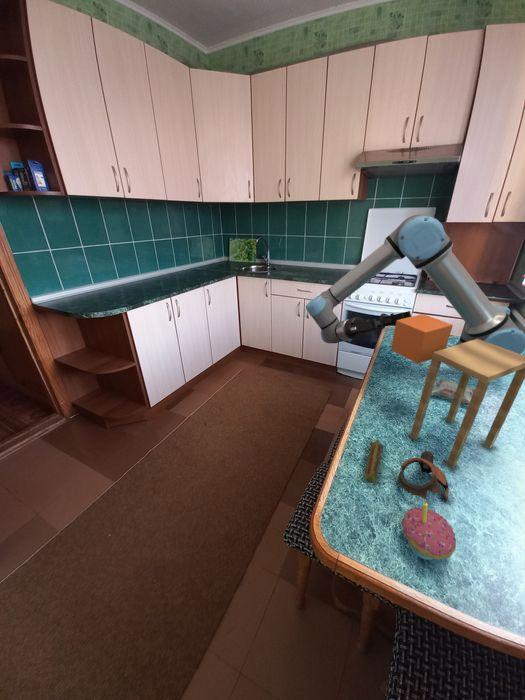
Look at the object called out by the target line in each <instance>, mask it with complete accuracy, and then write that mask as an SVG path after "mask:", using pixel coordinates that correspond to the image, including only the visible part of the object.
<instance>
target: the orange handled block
mask: <svg viewBox="0 0 525 700" xmlns="http://www.w3.org/2000/svg"><path fill="white" fill-rule="evenodd" d="M386 316H390V314H387V313H384V312H383V313H381V314H380V315H379V318H383V319H384V317H386ZM392 326H395V327H394V332H393V336H392V342H391V347H390V350H391V351H392V352H394V353H396V354H398V355H399V356H402V357H404V358H405V359H407V360H410V361H412V362H413V363H415V364H416V365H418V364H422V363H425V362H427V361H431V360H432V356H433V353H434V352H436V351H439V350H442V349H446V348H447V345H448V343H449V339H450V336H451V332H452V329H453V326H454V325H453V324H452V323H450V322H446V321H444V320H441V319H438V318H435V317H433V316H430V315H427V314H425V313H421V314H420V313H419V314H417V315H413V316H412V315H411V317H408V318H404V319H400V320H397V321H396V324H393V325H392Z"/></svg>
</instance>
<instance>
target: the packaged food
mask: <svg viewBox="0 0 525 700" xmlns="http://www.w3.org/2000/svg"><path fill="white" fill-rule="evenodd" d="M458 384H459V382H457V381H454V380H452V379H448V378H447V379H446V378H441V379H439V380H437V381H435V385H437V387H435V388H433V391H432V394H433V395H436V396H437V397H438V398H442V399H445V400H449V401H451V402H452V401H453V398H454V395H455V392H456V389H457V386H458ZM474 390H475V388H473V387H472V386H470V385H467V387H466V390H465V393H464V395H463V398H462V401H461V403H460V405H464V406H468V405H469V403H470V400H471V398H472V395H473V392H474Z"/></svg>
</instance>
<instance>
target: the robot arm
mask: <svg viewBox="0 0 525 700" xmlns="http://www.w3.org/2000/svg"><path fill="white" fill-rule="evenodd" d="M453 246H454V242H453V241H452V240H451V238H450V237H449V236H448V234H447V233H446V230H445V228H444V226H443V224H442V222H441V221H439V220H438V219H437V218H436V217H433V216H430V215H427V214H426V215H425V214H414V215H411V216H409V217H407V218H405V220H403V221H401V223H400V224H399V225H398V226H397V227H396V228H395V229H394V230H393V231H392V232H391V233H390V234H389V235H388V236H386V237H385V238H384V242H383V243H382V244H381V245H380V246H379V247H377V248H376V249H375V250H374V251H372V253H370V254H369V255H368V256H366V257H365V258H364V259H363V260H361V261H360V262H359V263H358V264H357V265H356V266H355V267H353V268H352V269H351V270H349V271H348V272H347V273H346V274H345V275H344V276H342V277H341V278H339V279H338V280H337V281H336V282H335V283H333V285H331V286H330V287H329V288H327V289H326V290H325V291H323V292H321V293H320V294H319V295H318V296H315V297H314V298H312V299H311V300H310V301H309V302H308V303H306V305H305V309H306V311H307V312H308V315H309V316H310V317H311V318H312V319H313V321H314V322H315V323H316V325H317V326H318V327H319V329H320V330H321V331H320V337H321V340H322V341H323V342H324V343H326V344H338V343H342V342H348V343H351V342H352V341H353V340H360V339H363V338H364V337H365V336H366V335H367V334H368V332H372V331H374V330H378V329H379V328H380V329H381V330H384V329H386V327H387V326H388V327H389V326H394V325H393V324H396V321H397V320H400V319H404V318H408V317H412V314H411V311H410V310H407V311H403V312H399V313H394V312H392V313H390V314H389V315H390V316H386V317H384V319H383V318H380V317H379V318H371V319H369V318H368V319H364V318H363V317H360V316H355V317H352V318H347V319H345V320H340V319H339V318H338V316H337V315H336V314H335V312H334V309H335V307H337V306H338V305H340V304H341V303H342V302H343V301H345V300H346V299H347V298H348V297H350V296H352V294H353V293H355V292H356V291H358V290H359V289H360V288H361V287H363V286H364V285H366V284H367V283H368V282H370V281H371V280H373V278H375V277H376V276H377V275H379V274H380V273H381V272H382V271H384V270H385V269H386V268H388V267H389V266H390V265H392V264H393V263H395V262H396V261H397V260H403V259H404V258H407V259H408V261H409V262H410V263H411V264H412V265H413V267H414V268H415V270H422V271H425V273H426V275H428V277H429V278H430V279H431V281H432V282H433V283H434V284H435V287H437V288H438V289H439V291H440V293H442V294H443V296H444V297H445V299H447V301H448V302H449V303H450V305H451V306H452V307H453V309H454V310H455V311H456V312H457V313H458V315H459V316H460V317H461V319H462V320H463V322H464V325H463V327H462V330H461V334H460V337H459V340H458V342H457V343H456V344H455V345H459V344H462V343H465V342H468V341H472V340H475V339H480V340H482V341H485V342H488V343H491V344H493V345H496V346H499V347H501V348H504V349H507V350H510V351H512V352H515V353H518V354H520V355H522V353H523V352H524V351H525V332H524V331H523V330H521V329H520V328H519V327H518V326H517V325H516V324H515V322H514V321H513V320H512V319H511V317H510V316H511V309H510V308H508V307H506V306H503V305H495V304H492V302H491V300H489V298H488V297H487V295H486V294H485V293H484V291H482V289H481V288H480V286H479V285H478V284H477V283H476V281H475V280H474V279H473V278H472V276H471V274H470V273H469V272H468V271H467V269H466V268H465V266H463V264H462V263H461V262H460V260H459V259H458V258H457V256H456V255H455V254H454V252H453V251H452V250H453Z"/></svg>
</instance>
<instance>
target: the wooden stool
mask: <svg viewBox="0 0 525 700" xmlns="http://www.w3.org/2000/svg"><path fill="white" fill-rule="evenodd" d="M442 363H443V364H444V365H446V366H449V367H451V368H453V369H455V370H457V371H458V372H461V375H460V377H459V381H458V383H459V384H458V386H457V389H456V392H455V395H454V398H453V401H452V400H451V404H450V406H449V410H448V413H447V415H446V418H445V421H446V422H447V423H448V424H453V423H454V422H455V420H456V417H457V414H458V411H459V409H460V406H461V401H462V398H463V395H464V393H465V390H466V387H467V386H468V384H469V382H470V378H474V379H475V380H477V382H476V385H475V387H474V392H473V395H472V398H471V400H470V403H469V405H467V408H466V411H465V413H464V416H463V419H462V421H461V425H460V427H459V429H458V431H457V434H456V437H455V438H454V439H455V440H454V442H453V445H452V447H451V450H450V452H449V454H448V457H447V460H446V462H445V466H447V467H448V468H449V469H450V470H452V469H454V468H456V467H457V464H458V462H459V459H460V457H461V455H462V452H463V449H464V447H465V444H466V442H467V439H468V437H469V435H470V432H471V430H472V428H473V425H474V423H475V421H476V417H477V415H478V413H479V410H480V408H481V406H482V403H483V400H484V398H485V395H486V393H487V391H488V388H489V385H490V383H491V382H493V381H496V380H498V379H500V378H503V377H505V376H508V375H510V374H513V373H514V376H513V377H512V380H511V382H510V384H509V386H508V388H507V391H506V393H505V395H504V397H503V400H502V402H501V404H500V406H499V408H498V411H497V413H496V415H495V417H494V420H493V422H492V424H491V426H490V429H489V431H488V433H487V435H486V438H485V440H484V442H483V444H482V445H483V446H484V447H486V448H487V449H492V448H493V447H494V445H495V443H496V440H497V438H498V436H499V435H500V431H501V430H502V427H503V426H504V423H505V421H506V419H507V417H508V416H509V413H510V410H511V409H512V407H513V404H514V403H515V400H516V398H517V396H518V394H519V392H520V389H521V387H522V385H523V384H524V381H525V355H523V354H518V353H515V352H512V351H510V350H507V349H504V348H501V347H499V346H496V345H493V344H491V343H488V342H485V341H482V340H480V339H475V340H472V341H468V342H465V343H462V344H459V345H456V344H455V345H453V346H449V347H446V349H442V350H439V351H436V352H434V353H433V356H432V359H431V360H430V364H429V367H428V371H427V374H426V377H425V381H424V384H423V388H422V392H421V395H420V399H419V402H418V406H417V408H416V413H415V417H414V419H413V423H412V427H411V430H410V433H409V438H411V439H412V440H414V441H415V440H417V439H419V436H420V434H421V429H422V426H423V423H424V420H425V417H426V413H427V411H428V407H429V404H430V401H431V397H432V394H433V393H432V391H433V390H434V387H435V385H436V382H437V381H436V380H437V377H438V374H439V370H440V367H441V364H442Z"/></svg>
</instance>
